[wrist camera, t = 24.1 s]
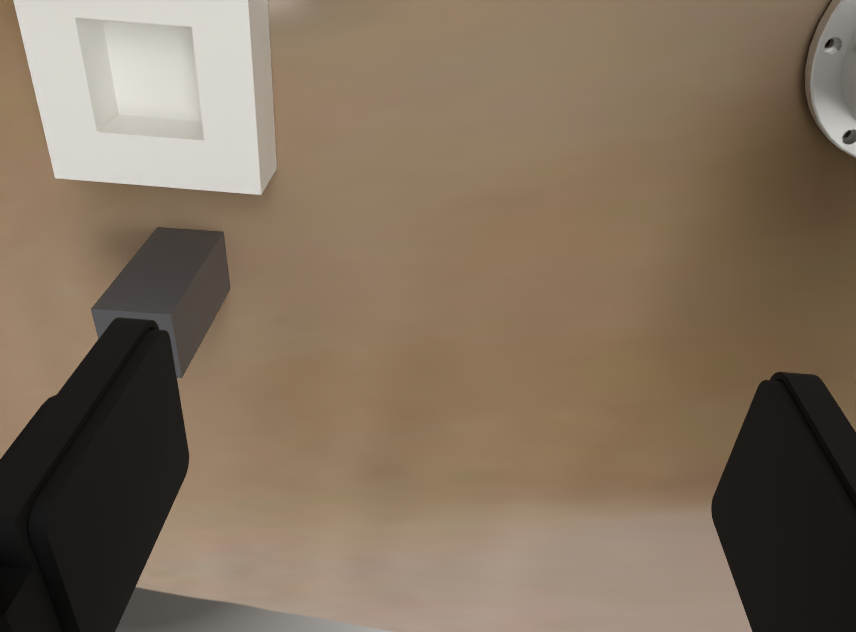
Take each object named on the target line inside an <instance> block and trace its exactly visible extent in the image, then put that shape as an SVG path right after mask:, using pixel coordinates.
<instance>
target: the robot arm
mask: <svg viewBox="0 0 856 632" xmlns="http://www.w3.org/2000/svg"><path fill="white" fill-rule="evenodd" d="M829 39H831V42H830V44H829V45H828V46H826V47H825V44H826V42H827V41H828V40H829ZM805 93H806V97H807V102H808V107H809V110H810V112H811V114H812V116H813V119H814V121H815V123H816V125H817V126H818V128H819V129H820V130H821V131H822V132H823V134H824V135H825V136H826V137H827V138H828V140H830V141H831V142H832V143H833V144H834V145H836V146H837V147H838V148H839V149H841V150H842V151H844V152H846V153H847V154H849V155H851V156H853V157H855V158H856V0H832V2H831V3H830V5H829V7H828V8H827V10H826V12H825V14H824V15H823V17H822V19H821V20H820V22H819V24H818V27H817V29H816V32H815V34H814V37H813V39H812V42H811V44H810V47H809V52H808V57H807V62H806V67H805ZM845 132H847V133H846V134H845V135H844V133H845ZM188 464H189V451H188V445H187V439H186V433H185V426H184V420H183V414H182V408H181V402H180V396H179V389H178V383H177V377H176V371H175V365H174V359H173V352H172V346H171V340H170V336H169V333H168V332H167V331H166V330H159V326H158V324H157V323H156V321H154V320H146V319H134V318H122V317H118V318H115V319H114V320H113V321H112V322H111V323H110V325H109V326H108V327H107V329H106V330H105V331H104V333H103V334H102V335H101V337H100V338H99V339H98V341H97V342H96V343H95V345H94V346H93V347H92V349H91V350H90V351H89V353H88V354H87V355H86V357H85V358H84V359H83V361H82V362H81V363H80V365H79V366H78V367H77V369H76V370H75V371H74V373H73V374H72V375H71V377H70V378H69V379H68V381H67V382H66V383H65V385H64V386H63V387H62V389H61V390H60V391H59V392H58V394H57V395H55V396H53V397H50V398H49V399H48V400H47V401H46V402H45V403H44V404H43V405H42V406H41V407H40V408H39V410H38V411H37V412H36V414H35V415H34V416H33V417H32V419H31V420H30V421H29V423H28V424H27V425H26V427H25V428H24V429H23V431H22V432H21V433H20V434H19V436H18V437H17V438H16V440H15V441H14V442H13V444H12V445H11V446H10V447H9V449H8V450H7V451H6V453H5V454H4V455H3V457H2V458H1V459H0V632H115V630H116V628H117V626H118V624H119V622H120V620H121V617H122V615H123V613H124V611H125V609H126V606H127V604H128V602H129V600H130V598H131V595H132V593H133V591H134V589H135V586H136V584H137V582H138V580H139V578H140V575H141V573H142V571H143V569H144V567H145V564H146V562H147V560H148V558H149V556H150V553H151V551H152V549H153V547H154V545H155V542H156V540H157V538H158V536H159V534H160V531H161V529H162V527H163V525H164V522H165V520H166V518H167V516H168V514H169V511H170V509H171V507H172V505H173V503H174V500H175V498H176V496H177V494H178V492H179V489H180V487H181V485H182V483H183V481H184V478H185V476H186V473H187V469H188ZM712 518H713V522H714V525H715V528H716V530H717V533H718V536H719V539H720V542H721V545H722V547H723V550H724V553H725V556H726V559H727V561H728V564H729V567H730V570H731V573H732V575H733V578H734V581H735V584H736V587H737V590H738V592H739V595H740V598H741V601H742V604H743V606H744V609H745V612H746V615H747V618H748V620H749V623H750V626H751V629H752V632H856V432H855V430H854V429H853V427H852V426H851V424H850V423H849V421H848V420H847V418H846V417H845V415H844V414H843V412H842V410H841V409H840V407H839V406H838V404H837V403H836V401H835V400H834V398H833V397H832V395H831V394H830V392H829V391H828V389H827V387H826V386H825V384H824V383H823V381H822V380H821V379H820V378H819V377H818V376H816V375H810V374H798V373H786V372H778V373H775V374H774V375H773V376H772V377H771V379H770V380H764V381H762V382H761V383H760V384H759V386H758V388H757V391H756V393H755V396H754V398H753V401H752V403H751V405H750V408H749V410H748V413H747V415H746V418H745V420H744V423H743V425H742V428H741V430H740V432H739V435H738V437H737V440H736V442H735V445H734V447H733V450H732V452H731V455H730V457H729V459H728V462H727V464H726V467H725V469H724V472H723V474H722V477H721V479H720V482H719V484H718V486H717V489H716V491H715V494H714V496H713V500H712Z"/></svg>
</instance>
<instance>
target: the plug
mask: <svg viewBox="0 0 856 632" xmlns="http://www.w3.org/2000/svg"><path fill="white" fill-rule="evenodd" d="M229 290H230V282H229V273H228V265H227V257H226V248H225V240H224V232H218V231H203V230H188V229H173V228H157V229H156V230H155V231H154V232H153V234H152V235H151V236H150V237H149V239H148V240H147V241H146V242H145V243H144V245H143V246H142V247H141V248H140V250H139V251H138V252H137V253H136V255H135V256H134V257H133V258H132V259H131V261H130V262H129V263H128V264H127V266H126V267H125V268H124V269H123V270H122V272H121V273H120V274H119V275H118V277H117V278H116V279H115V280H114V281H113V283H112V284H111V285H110V286H109V288H108V289H107V290H106V291H105V292H104V294H103V295H102V296H101V297H100V299H99V300H98V301H97V302H96V303H95V305H94V306H93V307H92V308H91V311H92V315H93V319H94V323H95V327H96V331H97V335H98V339H99V338H100V337H101V335H102V334H103V333H104V331H105V330H106V329H107V327H108V326H109V325H110V323H111V322H112V321H113V320H114V319H115V318H118V317H122V318H134V319H146V320H154V321H156V323H157V324H158V326H159V330H166V331H167V332H168V333H169V336H170V340H171V346H172V352H173V359H174V365H175V371H176V377H178V378H182V377H183V375H184V373H185V371H186V370H187V368H188V366H189V364H190V362H191V360H192V358H193V357H194V355H195V353H196V351H197V349H198V347H199V346H200V344H201V342H202V340H203V338H204V336H205V334H206V333H207V331H208V329H209V327H210V325H211V323H212V322H213V320H214V318H215V316H216V314H217V312H218V310H219V309H220V307H221V305H222V303H223V301H224V299H225V298H226V296H227V294H228V292H229Z"/></svg>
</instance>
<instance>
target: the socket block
mask: <svg viewBox="0 0 856 632" xmlns="http://www.w3.org/2000/svg"><path fill="white" fill-rule="evenodd" d="M14 5H15V9H16V13H17V17H18V22H19V26H20V30H21V34H22V39H23V43H24V47H25V51H26V56H27V60H28V64H29V68H30V73H31V77H32V81H33V86H34V90H35V94H36V98H37V103H38V107H39V111H40V115H41V120H42V124H43V128H44V132H45V137H46V141H47V145H48V149H49V154H50V158H51V162H52V166H53V171H54V175H55V178H60V179H72V180H85V181H97V182H109V183H121V184H134V185H146V186H158V187H170V188H183V189H195V190H207V191H220V192H232V193H244V194H256V195H261V194H262V193H263V191H264V189H265V188H266V186H267V184H268V183H269V181H270V179H271V178H272V176H273V174H274V173H275V171H276V169H277V162H276V143H275V125H274V106H273V88H272V69H271V50H270V32H269V13H268V0H14Z"/></svg>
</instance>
